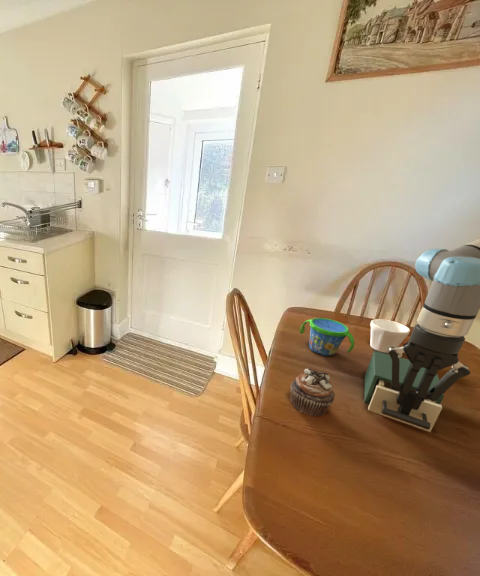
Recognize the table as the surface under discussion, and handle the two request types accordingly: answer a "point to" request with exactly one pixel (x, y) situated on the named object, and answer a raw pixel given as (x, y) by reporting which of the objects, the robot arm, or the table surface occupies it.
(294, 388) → the cupcake
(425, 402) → the drawer
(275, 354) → the table surface
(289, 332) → the table surface
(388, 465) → the table surface
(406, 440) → the table surface
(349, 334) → the snack cup
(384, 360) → the cabinet
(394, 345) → the cup
